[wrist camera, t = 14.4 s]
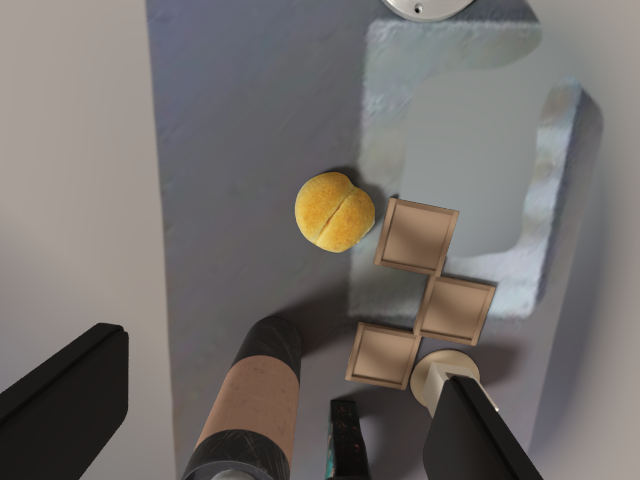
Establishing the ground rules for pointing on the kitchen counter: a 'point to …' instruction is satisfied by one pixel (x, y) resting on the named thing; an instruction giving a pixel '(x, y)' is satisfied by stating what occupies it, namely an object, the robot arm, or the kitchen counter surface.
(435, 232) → the tray
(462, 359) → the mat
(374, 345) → the tray
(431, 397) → the white box with panels
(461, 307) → the tray
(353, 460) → the ceramic cat
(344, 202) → the bread roll
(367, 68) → the kitchen counter surface
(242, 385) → the travel mug
